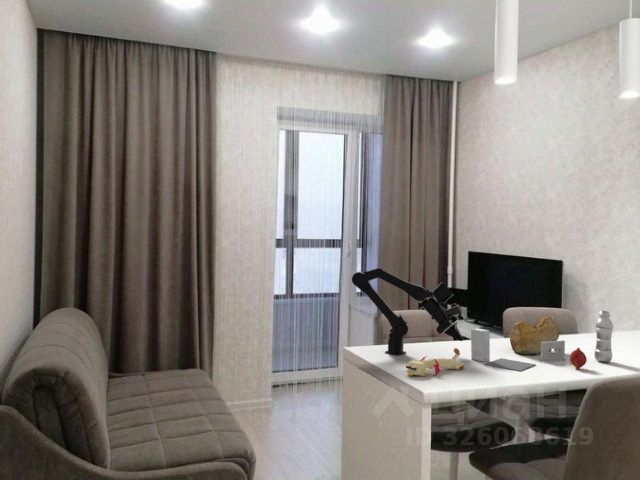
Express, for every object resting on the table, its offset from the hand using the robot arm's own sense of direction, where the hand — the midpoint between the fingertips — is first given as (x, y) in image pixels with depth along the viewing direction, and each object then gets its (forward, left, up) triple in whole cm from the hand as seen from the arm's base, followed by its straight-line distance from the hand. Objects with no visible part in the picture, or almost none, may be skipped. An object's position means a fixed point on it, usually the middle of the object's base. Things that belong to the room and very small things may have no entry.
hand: (462, 340), depth 226 cm
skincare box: (+2, -7, -7) cm, 10 cm away
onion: (+17, -39, -7) cm, 43 cm away
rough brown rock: (+35, -13, -7) cm, 38 cm away
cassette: (+24, -27, -7) cm, 37 cm away
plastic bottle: (+37, -42, -7) cm, 56 cm away
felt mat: (+3, -19, -7) cm, 20 cm away
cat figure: (-28, -5, -8) cm, 30 cm away
